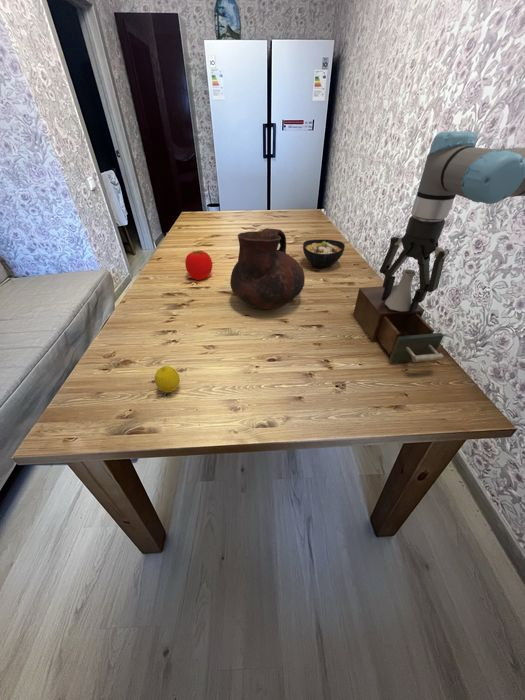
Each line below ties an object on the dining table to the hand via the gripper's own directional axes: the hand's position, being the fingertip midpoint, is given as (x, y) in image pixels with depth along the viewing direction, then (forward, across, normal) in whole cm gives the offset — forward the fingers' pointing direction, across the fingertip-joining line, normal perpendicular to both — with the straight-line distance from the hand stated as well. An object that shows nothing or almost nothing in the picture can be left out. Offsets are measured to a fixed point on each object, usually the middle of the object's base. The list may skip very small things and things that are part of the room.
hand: (398, 304), depth 79 cm
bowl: (+10, +48, -21) cm, 53 cm away
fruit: (+11, +20, +61) cm, 65 cm away
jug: (+10, +39, +16) cm, 43 cm away
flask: (0, 0, 0) cm, 0 cm away
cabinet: (+10, +4, -2) cm, 11 cm away
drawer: (+10, -8, +4) cm, 13 cm away
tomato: (+10, +71, +26) cm, 76 cm away
